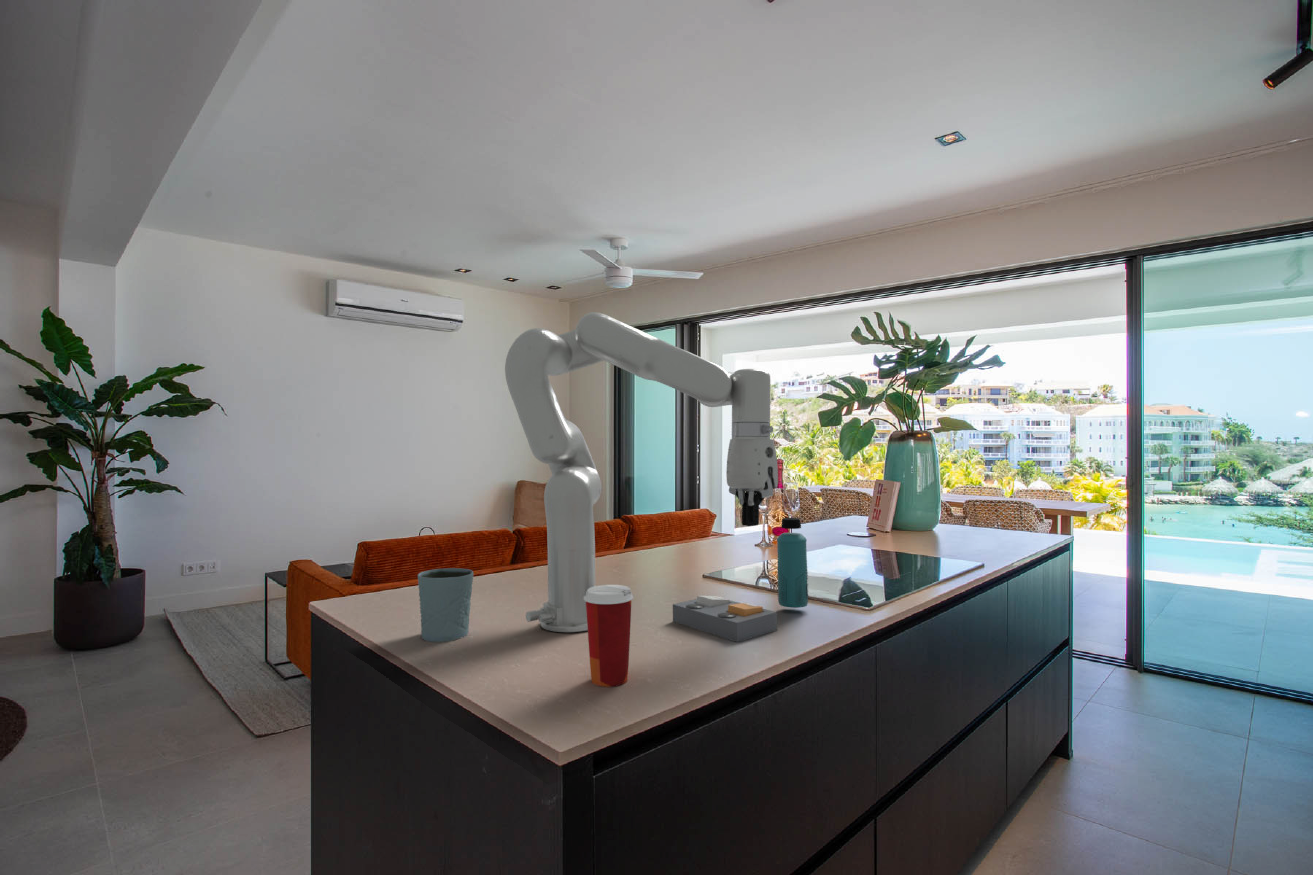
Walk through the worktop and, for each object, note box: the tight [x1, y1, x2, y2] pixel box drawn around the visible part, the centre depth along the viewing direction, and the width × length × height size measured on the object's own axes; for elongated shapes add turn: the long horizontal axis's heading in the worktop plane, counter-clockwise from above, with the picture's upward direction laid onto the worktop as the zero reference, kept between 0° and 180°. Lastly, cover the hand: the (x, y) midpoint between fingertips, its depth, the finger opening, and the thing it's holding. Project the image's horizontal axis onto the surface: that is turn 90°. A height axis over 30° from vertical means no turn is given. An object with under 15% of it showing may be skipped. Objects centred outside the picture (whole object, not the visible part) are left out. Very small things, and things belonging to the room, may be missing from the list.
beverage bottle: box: [776, 517, 809, 609], centre depth 139 cm, size 6×7×20 cm
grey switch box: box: [672, 598, 778, 643], centre depth 128 cm, size 11×18×4 cm, turn 39°
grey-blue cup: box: [417, 567, 475, 643], centre depth 124 cm, size 10×10×12 cm
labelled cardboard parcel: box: [728, 602, 764, 617], centre depth 126 cm, size 5×4×2 cm
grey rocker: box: [696, 595, 730, 608], centre depth 133 cm, size 5×4×2 cm
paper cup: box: [584, 584, 634, 688], centre depth 100 cm, size 8×8×14 cm
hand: (750, 525), depth 127 cm, fingers closed
